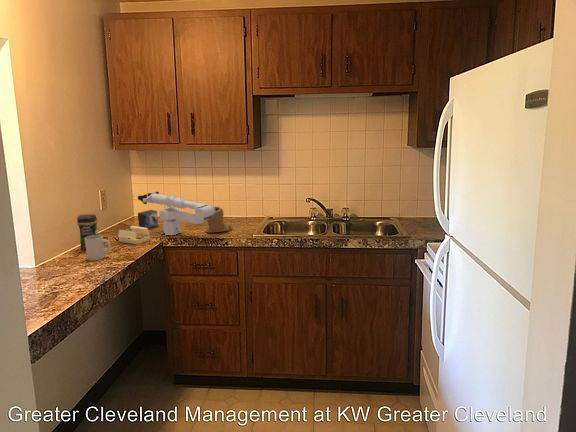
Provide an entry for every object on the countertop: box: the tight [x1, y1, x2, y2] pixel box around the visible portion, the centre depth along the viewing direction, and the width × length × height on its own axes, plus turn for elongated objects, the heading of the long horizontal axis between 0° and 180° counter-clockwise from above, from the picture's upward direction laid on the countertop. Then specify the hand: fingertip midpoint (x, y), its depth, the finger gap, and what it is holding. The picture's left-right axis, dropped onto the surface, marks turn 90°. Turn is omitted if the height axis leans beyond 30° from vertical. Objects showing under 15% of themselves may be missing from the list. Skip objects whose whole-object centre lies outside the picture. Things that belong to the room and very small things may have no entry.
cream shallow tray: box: [118, 233, 151, 245], centre depth 257 cm, size 14×10×2 cm
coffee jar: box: [76, 213, 99, 250], centre depth 246 cm, size 10×8×19 cm
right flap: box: [129, 225, 151, 236], centre depth 260 cm, size 13×4×1 cm
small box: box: [137, 209, 159, 230], centre depth 285 cm, size 11×6×10 cm, turn 143°
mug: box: [85, 234, 112, 262], centre depth 229 cm, size 12×8×11 cm
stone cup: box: [205, 206, 232, 234], centre depth 268 cm, size 15×12×15 cm
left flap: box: [118, 229, 138, 239], centre depth 253 cm, size 13×4×1 cm
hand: (143, 196), depth 274 cm, fingers open, 7 cm apart
